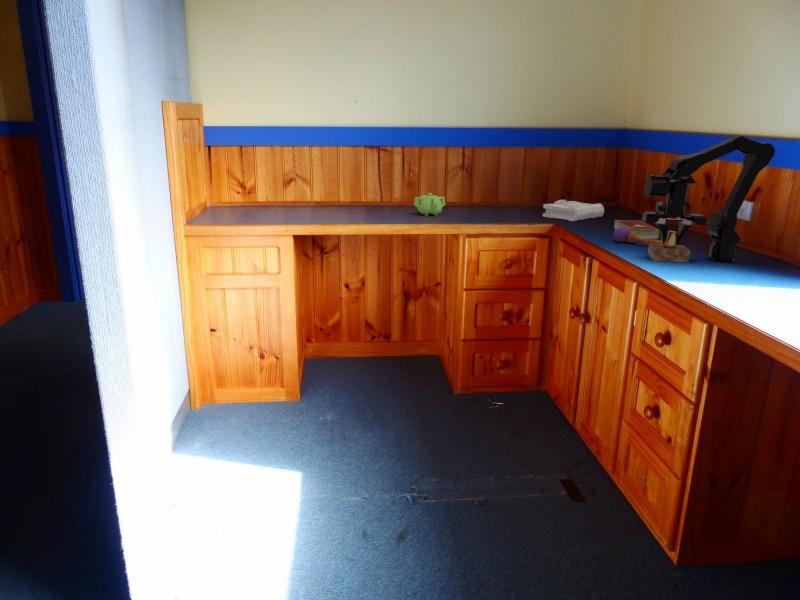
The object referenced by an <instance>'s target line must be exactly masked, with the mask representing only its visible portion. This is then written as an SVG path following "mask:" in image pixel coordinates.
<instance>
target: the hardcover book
mask: <svg viewBox="0 0 800 600" xmlns="http://www.w3.org/2000/svg"><path fill="white" fill-rule="evenodd" d="M613 222H614V228H613V229H614V230H616V229H617V228H619V227H626V228H627V229H629V231H630V232H631V231H632V232H633V233H635V234H636V235H637V236H638V237H639V238H646V239H653V240H659V239H660V237H661V234H660V230H659V228H657V227H655V226H652V225H650V223H648V222H645V221H643V220H627V219H625V220H621V219H617V220H616V219H613Z"/></svg>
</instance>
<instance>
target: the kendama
mask: <svg viewBox="0 0 800 600" xmlns="http://www.w3.org/2000/svg"><path fill="white" fill-rule="evenodd" d="M613 239H614V240H615V241H616V242H618V243H626V242H627V243H632V242H642V243H644V244H647V245H649V244H662V239H660V240H659V239H654V238H639V237H638V236H637V235H636V234H635V233H633V232H632V231H631V232H630V231H629V229H627V228H626V227H619V228H617V229H614V232H613ZM666 241H667V240H665V243H664V244H663V245H666Z"/></svg>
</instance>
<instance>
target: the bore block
mask: <svg viewBox="0 0 800 600" xmlns="http://www.w3.org/2000/svg"><path fill="white" fill-rule="evenodd" d="M690 255H691V250H690V249H689V248H687V247H686V246H685V245H682V244H681V245H679V244H678V245H675V248H665V245H663V244H648V251H647V256H648V257H649V258H650V259H651V260H652V261H654V262H655V261H656V262H657V261H658V262H674V263H675V262H676V263H689V261H690V260H689V259H690Z"/></svg>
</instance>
